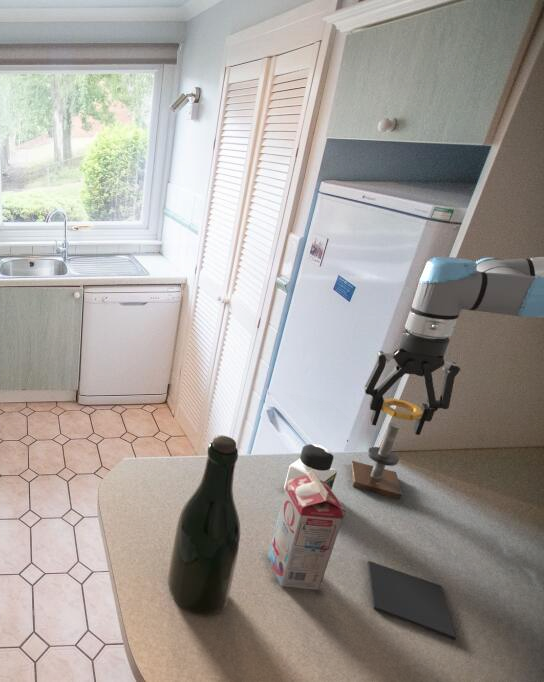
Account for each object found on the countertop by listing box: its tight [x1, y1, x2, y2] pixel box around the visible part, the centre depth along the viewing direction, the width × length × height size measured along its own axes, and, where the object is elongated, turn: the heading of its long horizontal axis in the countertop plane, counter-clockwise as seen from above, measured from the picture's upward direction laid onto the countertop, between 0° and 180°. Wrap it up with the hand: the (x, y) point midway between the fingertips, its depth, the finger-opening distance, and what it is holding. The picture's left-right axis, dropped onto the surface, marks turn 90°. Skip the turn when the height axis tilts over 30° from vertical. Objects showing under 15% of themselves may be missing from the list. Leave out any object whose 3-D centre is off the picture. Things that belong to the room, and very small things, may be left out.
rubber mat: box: [367, 560, 457, 640], centre depth 80 cm, size 11×11×1 cm
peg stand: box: [350, 422, 403, 501], centre depth 105 cm, size 9×9×16 cm
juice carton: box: [267, 467, 346, 591], centre depth 81 cm, size 7×7×22 cm
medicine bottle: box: [283, 443, 338, 491], centre depth 103 cm, size 7×7×12 cm
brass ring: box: [381, 397, 423, 421], centre depth 101 cm, size 7×7×1 cm
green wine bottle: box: [167, 435, 241, 617], centre depth 76 cm, size 10×10×33 cm
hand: (394, 426), depth 102 cm, fingers closed on brass ring, 7 cm apart
